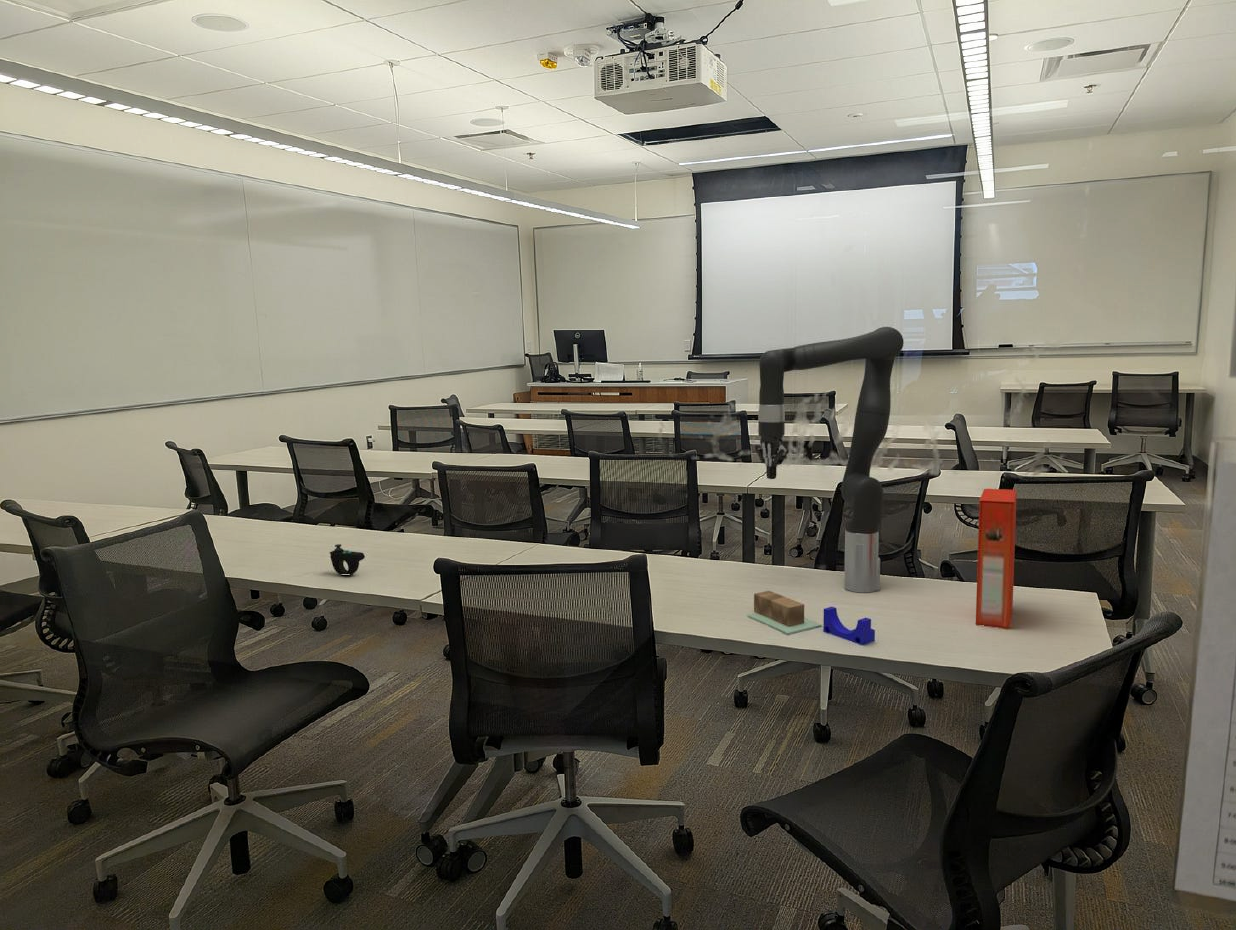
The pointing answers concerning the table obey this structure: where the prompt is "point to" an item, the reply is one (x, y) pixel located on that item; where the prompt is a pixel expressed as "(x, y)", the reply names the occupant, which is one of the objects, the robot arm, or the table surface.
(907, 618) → the table surface
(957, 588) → the table surface
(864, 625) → the blue cradle block
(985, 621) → the file binder
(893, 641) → the table surface
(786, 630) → the sage mat
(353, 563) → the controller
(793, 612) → the walnut block
